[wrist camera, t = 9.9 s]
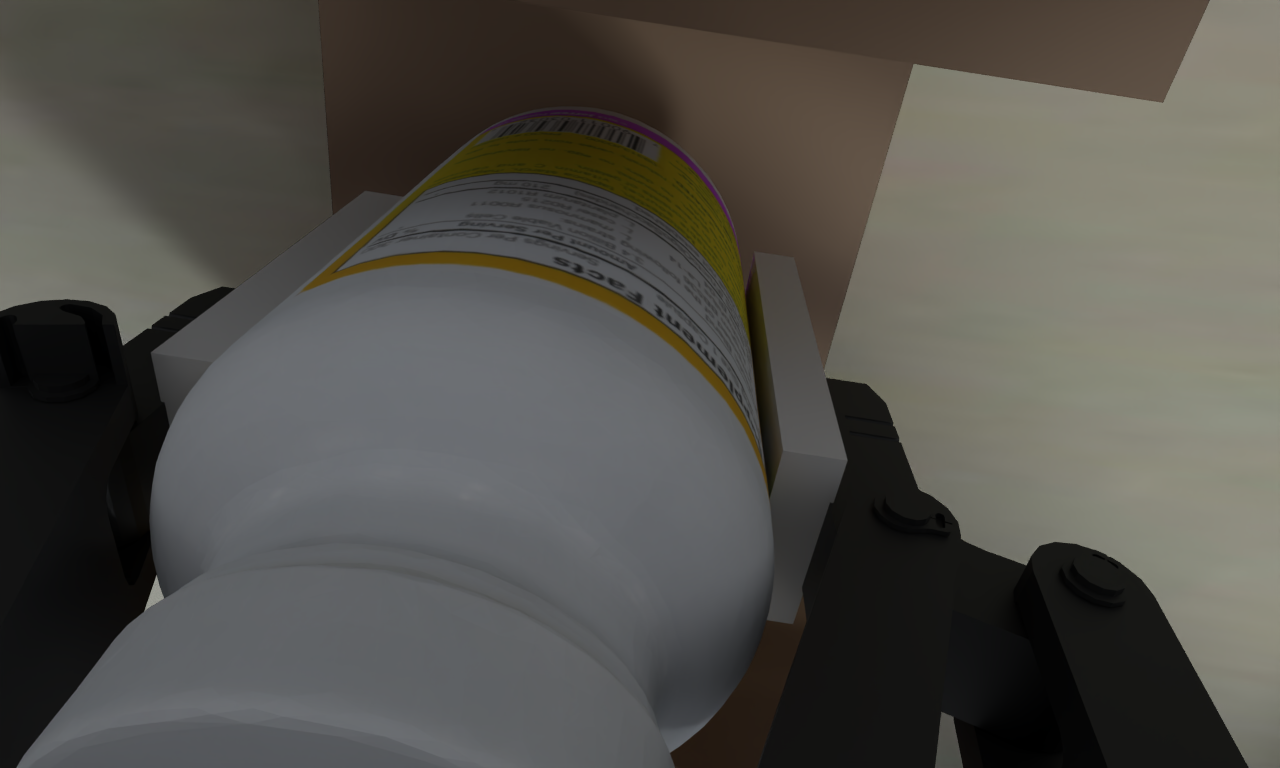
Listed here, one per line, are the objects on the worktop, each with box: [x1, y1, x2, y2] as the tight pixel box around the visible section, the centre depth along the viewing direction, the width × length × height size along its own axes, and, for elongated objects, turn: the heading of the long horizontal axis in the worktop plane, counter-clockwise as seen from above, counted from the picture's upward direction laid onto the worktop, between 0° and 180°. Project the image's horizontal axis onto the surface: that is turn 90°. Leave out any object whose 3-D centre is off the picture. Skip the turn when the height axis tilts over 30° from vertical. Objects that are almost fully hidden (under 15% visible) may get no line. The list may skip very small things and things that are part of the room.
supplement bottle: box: [16, 106, 774, 768], centre depth 11 cm, size 7×7×13 cm
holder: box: [318, 0, 1210, 768], centre depth 15 cm, size 16×12×10 cm
